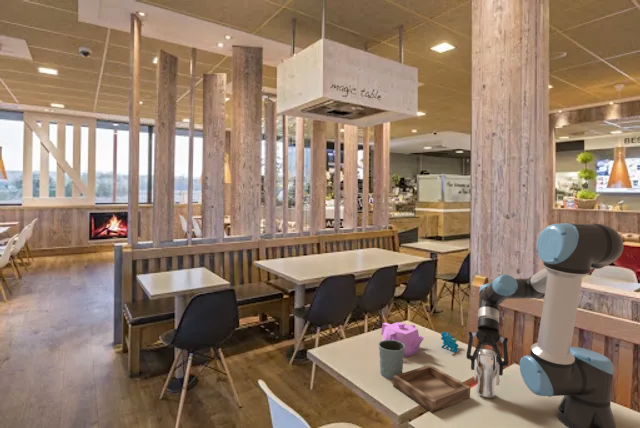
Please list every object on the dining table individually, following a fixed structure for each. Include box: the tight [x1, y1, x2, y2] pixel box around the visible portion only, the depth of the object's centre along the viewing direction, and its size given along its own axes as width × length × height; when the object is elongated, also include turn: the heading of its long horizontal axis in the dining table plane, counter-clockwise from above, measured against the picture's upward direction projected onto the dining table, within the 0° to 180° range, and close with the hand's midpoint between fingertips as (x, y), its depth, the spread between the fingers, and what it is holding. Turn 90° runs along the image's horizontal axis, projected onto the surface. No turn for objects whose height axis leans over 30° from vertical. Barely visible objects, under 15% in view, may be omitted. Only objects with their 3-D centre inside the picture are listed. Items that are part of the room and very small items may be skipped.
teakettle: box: [380, 321, 425, 358], centre depth 170 cm, size 17×17×12 cm
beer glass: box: [475, 348, 498, 398], centre depth 133 cm, size 7×7×15 cm
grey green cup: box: [378, 340, 405, 380], centre depth 147 cm, size 10×10×12 cm
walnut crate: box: [392, 364, 471, 414], centre depth 135 cm, size 19×19×4 cm
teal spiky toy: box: [440, 331, 459, 353], centre depth 172 cm, size 11×6×10 cm
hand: (486, 381), depth 130 cm, fingers closed on beer glass, 7 cm apart
